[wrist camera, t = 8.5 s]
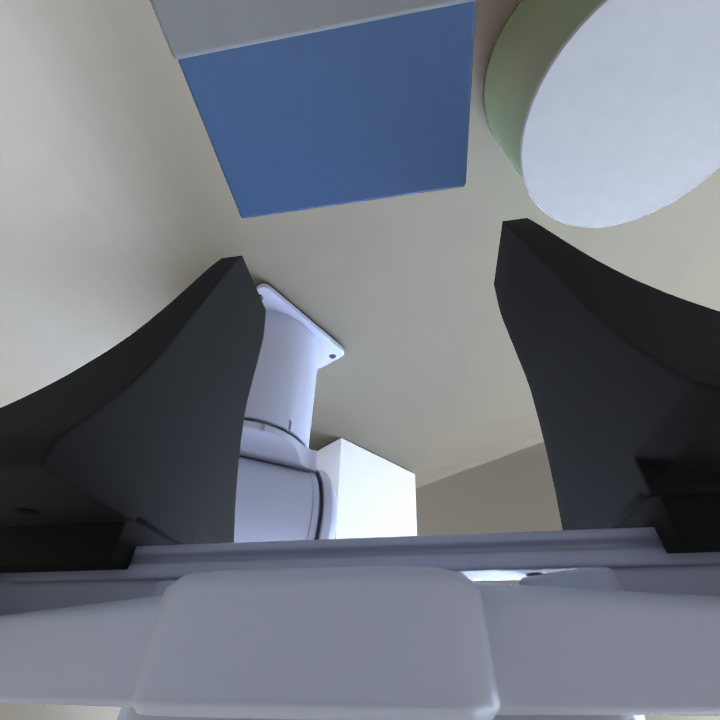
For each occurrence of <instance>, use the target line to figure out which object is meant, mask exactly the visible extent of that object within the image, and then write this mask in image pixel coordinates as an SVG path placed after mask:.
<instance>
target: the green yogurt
mask: <svg viewBox="0 0 720 720" xmlns="http://www.w3.org/2000/svg"><path fill="white" fill-rule="evenodd" d="M484 104H485V113H486V117H487V121H488V124H489V127H490V129H491V131H492V133H493V135H494V137H495V138H496V140H497V141H498V143H499V144H500V146H501V147H502V149H503V150H504V152H505V153H506V155H507V156H508V158H509V159H510V161H511V162H512V164H513V165H514V167H515V168H516V170H517V171H518V173H519V174H520V176H521V177H522V179H523V181H524V183H525V186H526V189H527V191H528V193H529V194H530V196H531V198H532V200H533V201H534V202H535V203H536V205H537V206H538V207H539V208H540V209H541V210H542V211H543V212H544V213H546V214H547V215H548V216H549V217H551V218H553V219H555V220H557V221H559V222H562V223H565V224H567V225H572V226H577V227H588V228H596V227H607V226H613V225H618V224H622V223H626V222H629V221H633V220H635V219H638V218H641V217H643V216H646V215H648V214H651V213H653V212H655V211H657V210H659V209H661V208H663V207H665V206H667V205H668V204H670V203H672V202H674V201H675V200H677V199H679V198H680V197H682V196H683V195H685V194H686V193H688V192H689V191H691V190H692V189H694V188H695V187H696V186H697V185H699V184H700V183H701V182H703V181H704V180H705V179H706V178H708V177H709V176H710V175H711V174H712V173H713V172H714V171H716V170H717V169H718V168H719V167H720V0H522V1H521V2H520V3H519V4H518V6H517V7H516V9H515V10H514V12H513V13H512V14H511V16H510V17H509V19H508V21H507V22H506V24H505V26H504V28H503V29H502V31H501V33H500V35H499V37H498V40H497V42H496V44H495V46H494V49H493V52H492V55H491V58H490V61H489V65H488V69H487V73H486V79H485V87H484Z"/></svg>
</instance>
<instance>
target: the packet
mask: <svg viewBox="0 0 720 720" xmlns="http://www.w3.org/2000/svg"><path fill="white" fill-rule="evenodd" d="M150 2H151V4H152V6H153V9H154V11H155V14H156V16H157V19H158V21H159V24H160V26H161V29H162V31H163V33H164V36H165V38H166V41H167V43H168V46H169V48H170V51H171V53H172V55H173V57H174V58H175V59H178V61H179V64H180V66H181V69H182V71H183V73H184V76H185V78H186V81H187V83H188V86H189V88H190V91H191V93H192V96H193V98H194V101H195V103H196V106H197V108H198V111H199V113H200V116H201V118H202V121H203V123H204V126H205V128H206V131H207V133H208V136H209V138H210V141H211V143H212V146H213V148H214V151H215V153H216V156H217V158H218V161H219V163H220V166H221V168H222V171H223V173H224V175H225V178H226V180H227V183H228V185H229V188H230V190H231V193H232V195H233V198H234V200H235V203H236V205H237V208H238V210H239V213H240V215H241V217H242V218H249V217H256V216H263V215H270V214H277V213H284V212H291V211H298V210H304V209H311V208H318V207H325V206H332V205H339V204H346V203H353V202H360V201H367V200H374V199H381V198H388V197H395V196H402V195H409V194H416V193H423V192H430V191H437V190H443V189H450V188H457V187H463V186H465V183H466V168H467V151H468V133H469V116H470V98H471V80H472V63H473V45H474V28H475V10H476V0H150Z"/></svg>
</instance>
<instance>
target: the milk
mask: <svg viewBox="0 0 720 720" xmlns="http://www.w3.org/2000/svg"><path fill="white" fill-rule="evenodd" d="M317 452H318V459H317V470H322V471H324V472H326V473H327V474H328V476H329V477H330V480H331V482H332V485H333V487H334V490H335V493H336V498H337V525H336V533H335V538H334V539H346V538H373V537H400V536H417V523H416V495H415V493H416V492H415V474H414V473H412V472H409V471H407V470H405V469H403V468H401V467H399V466H397V465H395V464H393V463H391V462H389V461H387V460H385V459H383V458H381V457H379V456H377V455H375V454H373V453H371V452H369V451H367V450H365V449H363V448H361V447H359V446H357V445H355V444H353V443H351V442H348V441H346V440H344V439H342V438H340V439H338V440H336V441H335V442H333V443H331V444H329V445H327V446H325V447H324V448H322V449H320V450H318V451H317Z"/></svg>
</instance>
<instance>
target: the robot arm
mask: <svg viewBox="0 0 720 720" xmlns="http://www.w3.org/2000/svg"><path fill="white" fill-rule="evenodd" d="M494 286H495V291H496V295H497V300H498V304H499V308H500V312H501V315H502V318H503V321H504V323H505V326H506V328H507V331H508V333H509V336H510V338H511V341H512V343H513V346H514V348H515V350H516V353H517V355H518V358H519V360H520V363H521V365H522V368H523V370H524V373H525V375H526V378H527V381H528V383H529V386H530V389H531V393H532V396H533V400H534V404H535V407H536V411H537V415H538V418H539V422H540V426H541V430H542V434H543V438H544V443H545V446H546V451H547V455H548V459H549V464H550V469H551V473H552V478H553V482H554V487H555V492H556V496H557V502H558V507H559V512H560V517H561V523H562V528H563V530H560V531H534V532H508V533H480V534H456V535H455V534H454V535H427V536H400V537H373V538H346V539H334V538H335V533H336V525H337V498H336V493H335V490H334V487H333V485H332V482H331V480H330V477H329V476H328V474H327V473H326V472H324V471H322V470H317V459H318V452H317V451H315V450H311V449H309V440H310V430H311V421H312V411H313V402H314V393H315V383H316V374H317V370H318V369H320V368H322V367H324V366H325V365H327V364H329V363H331V362H333V361H334V360H336V359H338V358H340V357H342V356H343V355H344V348H343V347H342V346H341V345H340V344H339V343H337V342H336V341H335V340H334V339H333V338H331V337H330V336H329V335H328V334H327V333H325V332H324V331H323V330H322V329H321V328H319V327H318V326H317V325H316V324H315V323H314V322H312V321H311V320H310V319H309V318H308V317H306V316H305V315H304V314H303V313H302V312H300V311H299V310H298V309H297V308H296V307H295V306H293V305H292V304H291V303H290V302H289V301H287V300H286V299H285V298H284V297H283V296H281V295H280V294H279V293H278V292H277V291H276V290H274V289H273V288H272V287H271V286H269V285H268V284H260V285H258V286H257V287H256V286H255V284H254V282H253V280H252V277H251V275H250V273H249V270H248V268H247V266H246V264H245V261H244V259H243V257H242V256H236V257H229V258H222V259H220V260H219V261H217V262H216V263H215V264H214V265H212V266H211V267H210V268H209V269H208V270H207V271H205V272H204V273H203V274H202V275H201V276H200V277H199V278H198V279H197V280H195V281H194V282H193V283H192V284H191V285H190V286H189V287H188V288H187V289H186V290H185V291H183V292H182V293H181V294H180V295H179V296H178V297H177V298H176V299H175V300H173V301H172V302H171V303H170V304H169V305H168V306H166V307H165V308H164V309H163V310H162V311H160V312H159V313H158V314H157V315H156V316H154V317H153V318H152V319H151V320H150V321H148V322H147V323H146V324H145V325H143V326H142V327H141V328H140V329H138V330H137V331H136V332H134V333H133V334H132V335H130V336H129V337H127V338H126V339H124V340H123V341H122V342H120V343H119V344H117V345H116V346H114V347H113V348H111V349H110V350H108V351H107V352H105V353H104V354H102V355H100V356H99V357H97V358H95V359H94V360H92V361H90V362H89V363H87V364H85V365H84V366H82V367H80V368H79V369H77V370H75V371H74V372H72V373H70V374H69V375H67V376H65V377H63V378H61V379H59V380H57V381H55V382H54V383H52V384H50V385H48V386H46V387H44V388H42V389H40V390H38V391H36V392H34V393H32V394H30V395H28V396H26V397H24V398H22V399H20V400H17V401H15V402H13V403H11V404H9V405H6V406H4V407H2V408H0V703H25V704H55V705H84V706H115V707H121V710H120V713H119V716H118V719H117V720H645V718H644V715H683V716H687V715H689V716H701V715H702V716H720V312H719V311H716V310H713V309H710V308H707V307H704V306H701V305H698V304H695V303H692V302H689V301H686V300H683V299H681V298H678V297H675V296H673V295H670V294H667V293H665V292H662V291H660V290H658V289H655V288H653V287H650V286H648V285H646V284H643V283H641V282H639V281H636V280H634V279H632V278H630V277H628V276H626V275H624V274H622V273H620V272H618V271H616V270H614V269H612V268H610V267H608V266H606V265H604V264H603V263H601V262H599V261H597V260H595V259H593V258H592V257H590V256H588V255H586V254H585V253H583V252H581V251H580V250H578V249H576V248H575V247H573V246H572V245H570V244H568V243H567V242H565V241H564V240H562V239H560V238H559V237H557V236H556V235H554V234H553V233H551V232H550V231H548V230H546V229H545V228H543V227H542V226H540V225H538V224H537V223H535V222H533V221H532V220H530V219H528V218H525V219H517V220H510V221H503V224H502V231H501V238H500V245H499V252H498V260H497V267H496V274H495V281H494ZM259 294H260V295H262V297H260V295H259ZM331 354H334V355H331ZM492 580H493V581H494V580H521V581H520V582H519V585H509V584H492V583H475V582H472V581H492Z"/></svg>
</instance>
